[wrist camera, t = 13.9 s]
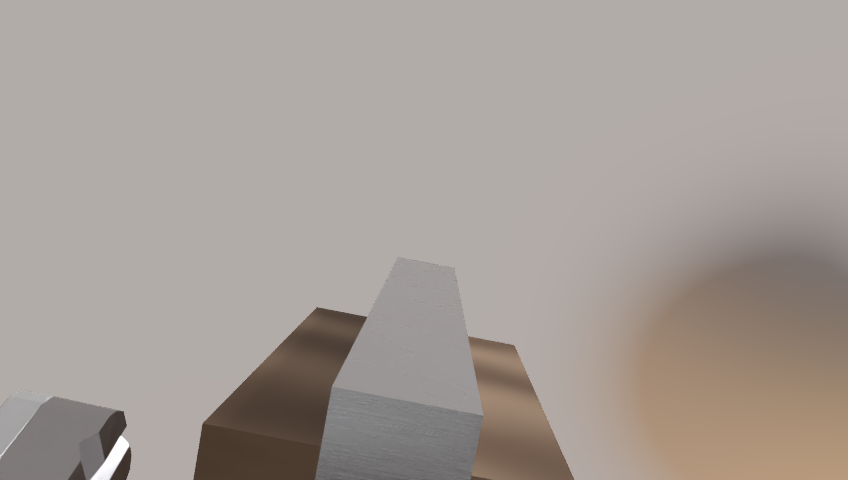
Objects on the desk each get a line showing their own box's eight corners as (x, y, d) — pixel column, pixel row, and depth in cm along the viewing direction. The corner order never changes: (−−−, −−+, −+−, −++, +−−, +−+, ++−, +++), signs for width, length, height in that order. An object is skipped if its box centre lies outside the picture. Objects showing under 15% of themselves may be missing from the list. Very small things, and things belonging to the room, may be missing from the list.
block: (387, 312, 35) (398, 257, 35) (443, 323, 35) (454, 267, 35) (305, 531, 13) (331, 386, 13) (454, 559, 13) (483, 415, 13)
